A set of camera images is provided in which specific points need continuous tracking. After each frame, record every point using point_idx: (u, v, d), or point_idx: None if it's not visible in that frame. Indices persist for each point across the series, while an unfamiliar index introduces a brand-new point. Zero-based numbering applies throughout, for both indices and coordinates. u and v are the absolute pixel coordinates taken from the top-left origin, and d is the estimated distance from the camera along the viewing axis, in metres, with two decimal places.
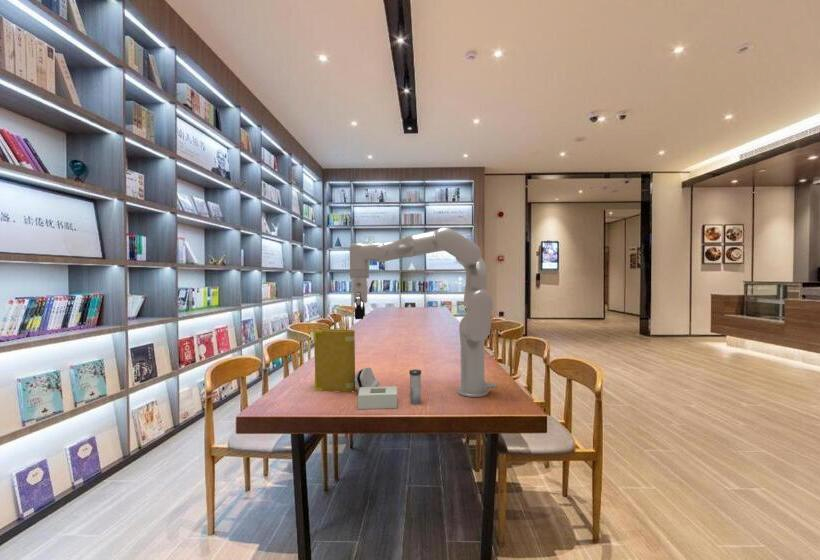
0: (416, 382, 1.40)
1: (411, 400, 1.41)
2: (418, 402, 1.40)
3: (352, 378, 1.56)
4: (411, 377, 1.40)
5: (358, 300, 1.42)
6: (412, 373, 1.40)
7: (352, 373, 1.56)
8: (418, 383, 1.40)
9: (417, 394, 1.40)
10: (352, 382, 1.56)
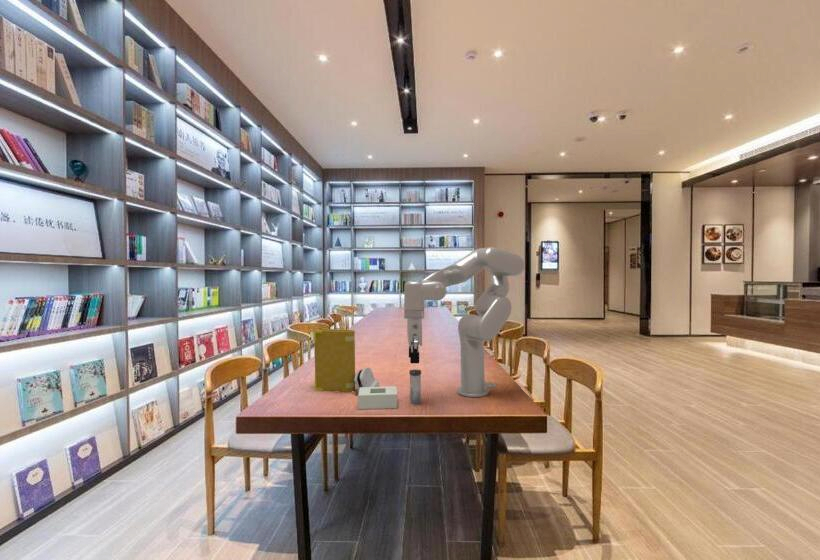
0: (416, 382, 1.40)
1: (411, 400, 1.41)
2: (418, 402, 1.40)
3: (352, 378, 1.56)
4: (411, 377, 1.40)
5: (415, 344, 1.33)
6: (412, 373, 1.40)
7: (352, 373, 1.56)
8: (418, 383, 1.40)
9: (417, 394, 1.40)
10: (352, 382, 1.56)
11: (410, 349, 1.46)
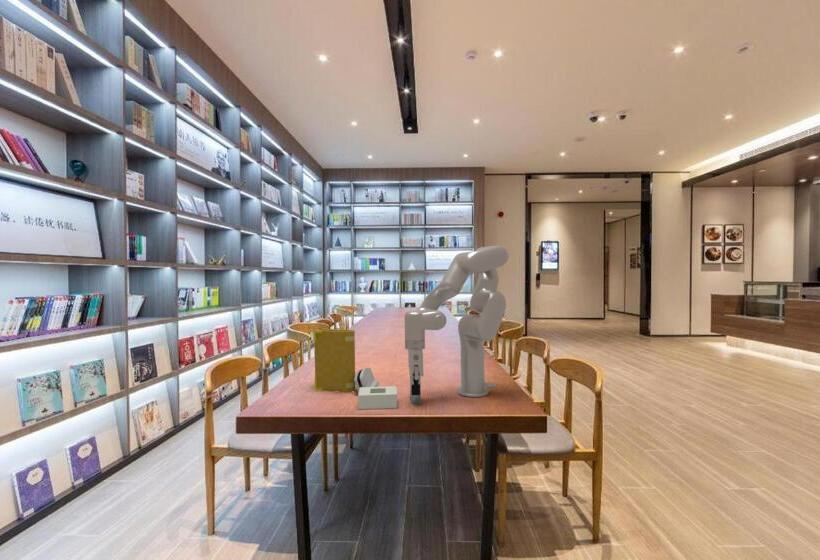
0: None
1: (411, 400, 1.41)
2: (418, 402, 1.40)
3: (352, 378, 1.56)
4: (411, 377, 1.40)
5: (416, 380, 1.35)
6: None
7: (352, 373, 1.56)
8: None
9: None
10: (352, 382, 1.56)
11: None
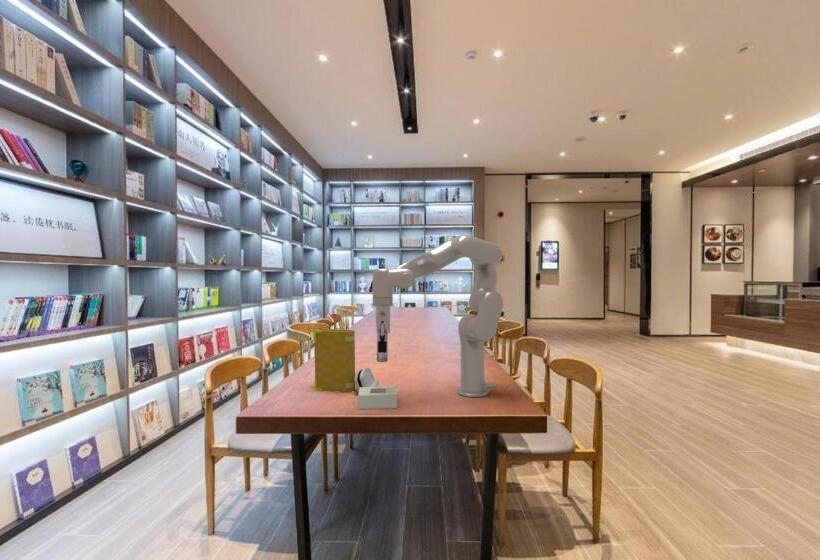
0: None
1: (377, 358, 1.40)
2: (384, 360, 1.39)
3: (352, 378, 1.56)
4: (378, 334, 1.39)
5: (382, 336, 1.34)
6: None
7: (352, 373, 1.56)
8: None
9: None
10: (352, 382, 1.56)
11: None
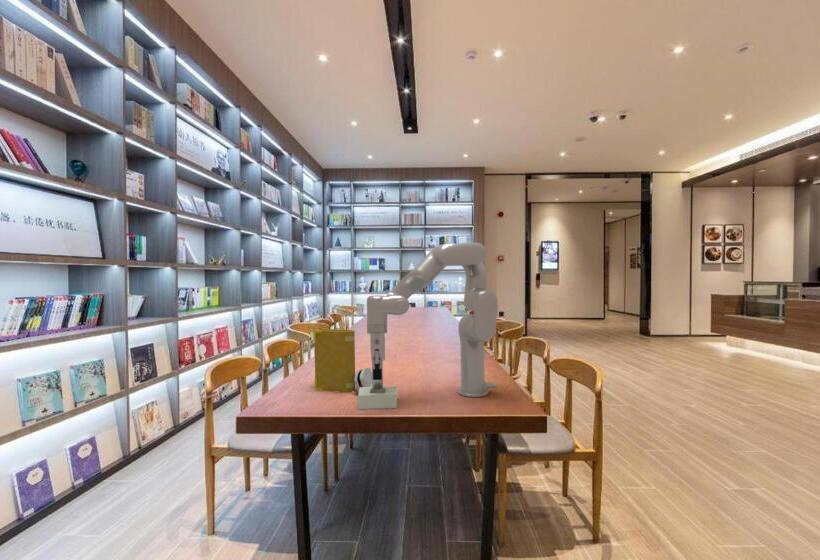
0: None
1: (373, 385, 1.40)
2: (380, 387, 1.39)
3: (352, 378, 1.56)
4: (373, 362, 1.39)
5: (377, 364, 1.34)
6: None
7: (352, 373, 1.56)
8: None
9: None
10: (352, 382, 1.56)
11: None
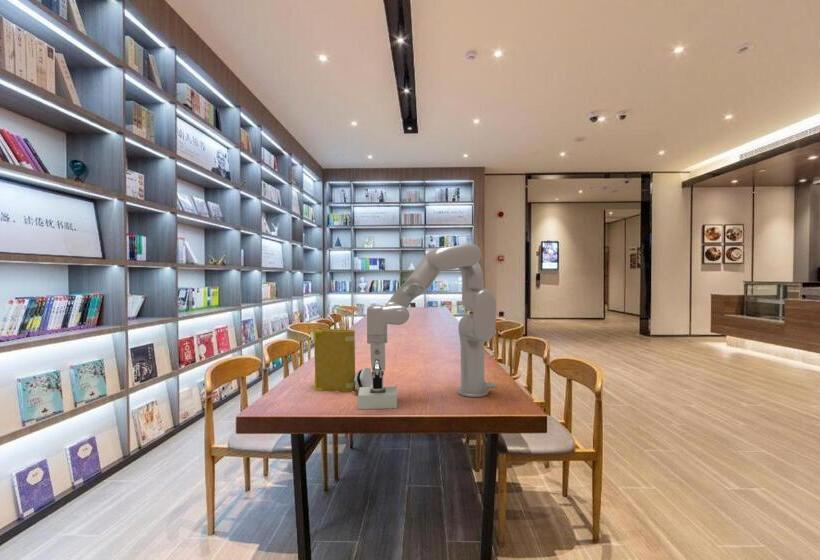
0: None
1: None
2: None
3: (352, 378, 1.56)
4: None
5: (377, 370, 1.33)
6: None
7: (352, 373, 1.56)
8: None
9: None
10: (352, 382, 1.56)
11: None
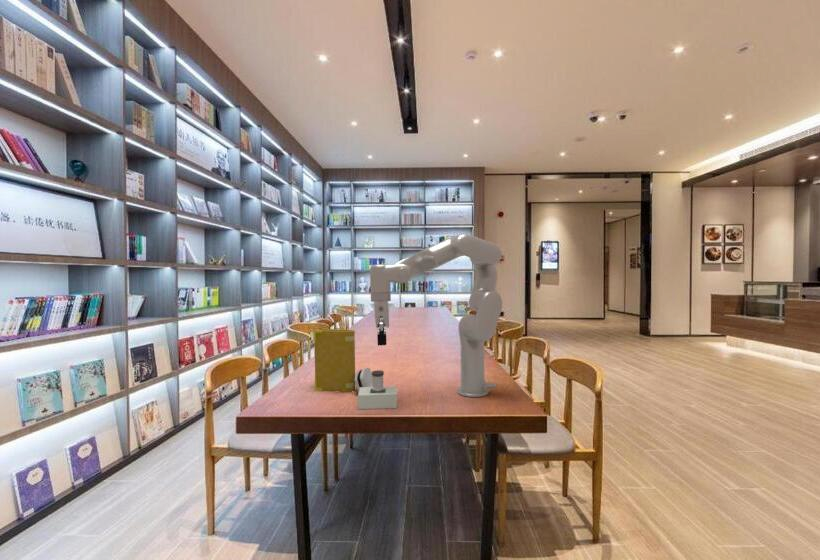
0: (378, 383, 1.39)
1: None
2: None
3: (352, 378, 1.56)
4: (373, 378, 1.40)
5: (381, 326, 1.34)
6: (374, 374, 1.39)
7: (352, 373, 1.56)
8: (380, 384, 1.39)
9: None
10: (352, 382, 1.56)
11: (379, 332, 1.47)
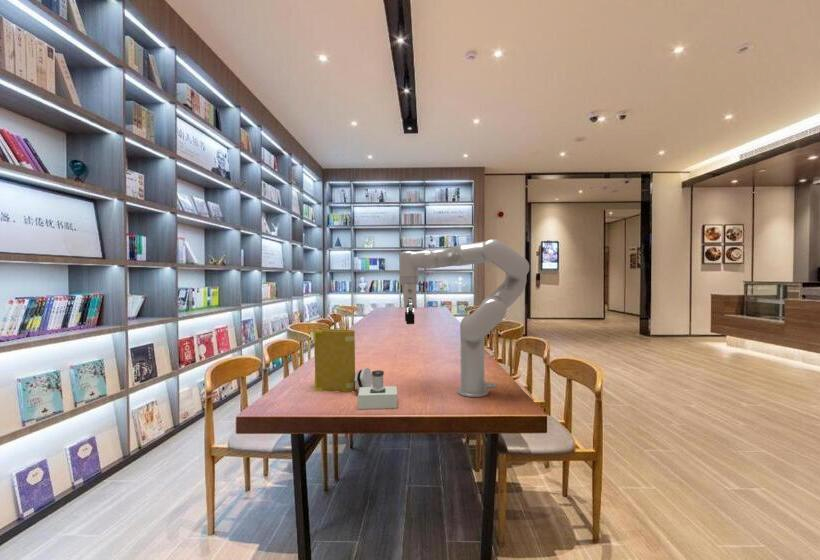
0: (378, 383, 1.39)
1: None
2: None
3: (352, 378, 1.56)
4: (373, 378, 1.40)
5: (410, 306, 1.48)
6: (374, 374, 1.39)
7: (352, 373, 1.56)
8: (380, 384, 1.39)
9: None
10: (352, 382, 1.56)
11: (406, 313, 1.61)
